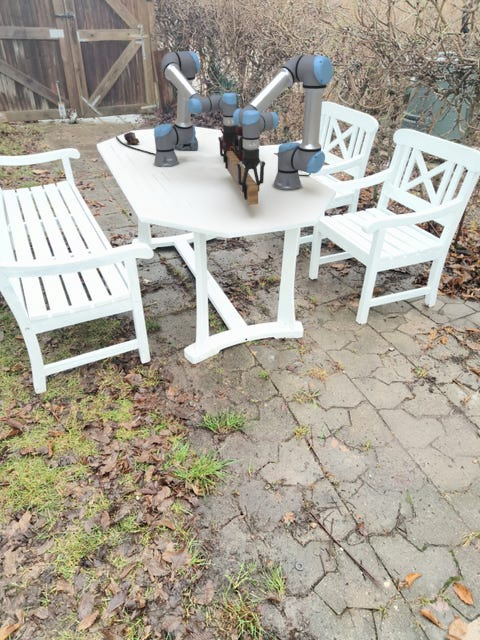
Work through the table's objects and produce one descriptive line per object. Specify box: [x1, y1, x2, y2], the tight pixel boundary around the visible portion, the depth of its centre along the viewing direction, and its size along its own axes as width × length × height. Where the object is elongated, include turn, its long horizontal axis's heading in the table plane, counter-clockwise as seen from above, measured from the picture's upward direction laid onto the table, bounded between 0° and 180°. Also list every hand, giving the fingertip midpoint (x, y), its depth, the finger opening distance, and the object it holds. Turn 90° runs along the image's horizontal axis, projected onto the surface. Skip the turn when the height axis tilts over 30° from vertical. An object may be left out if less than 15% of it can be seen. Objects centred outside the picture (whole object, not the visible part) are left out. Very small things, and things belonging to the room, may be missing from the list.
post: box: [226, 151, 259, 205], centre depth 236 cm, size 65×4×8 cm, turn 11°
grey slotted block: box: [174, 136, 199, 151], centre depth 321 cm, size 17×18×20 cm
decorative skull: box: [220, 126, 243, 162], centre depth 296 cm, size 21×24×25 cm
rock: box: [123, 131, 140, 145], centre depth 337 cm, size 12×9×10 cm
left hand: (230, 167), depth 259 cm, fingers closed on post, 4 cm apart
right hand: (250, 198), depth 217 cm, fingers closed on post, 4 cm apart
